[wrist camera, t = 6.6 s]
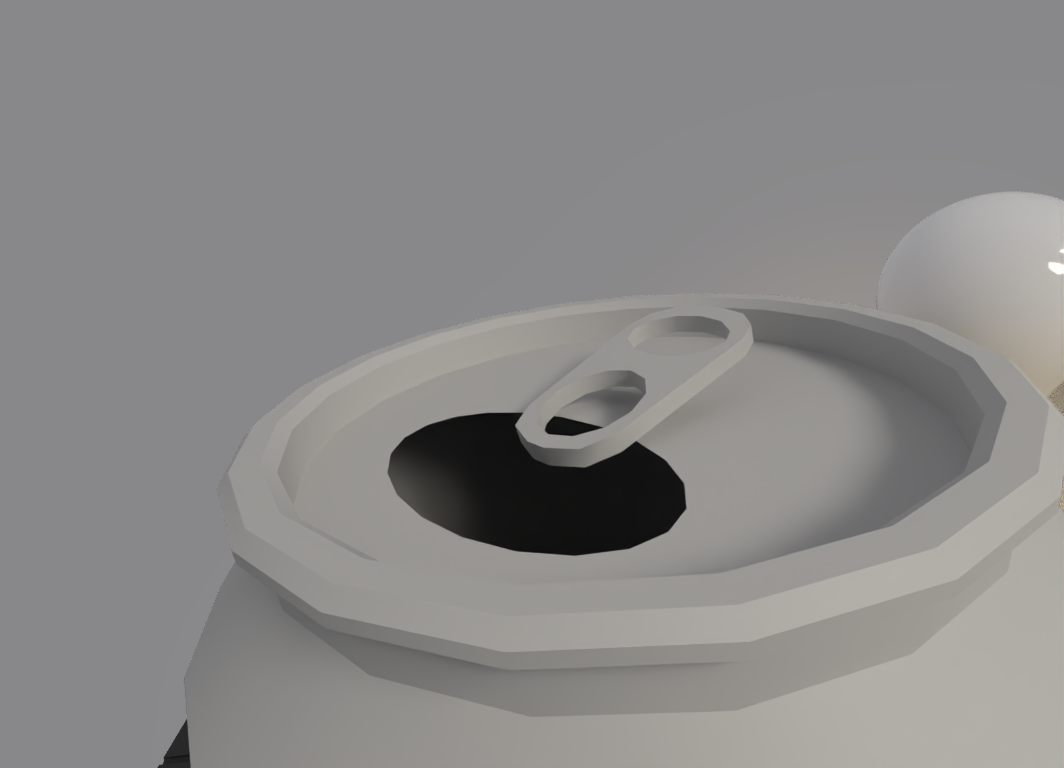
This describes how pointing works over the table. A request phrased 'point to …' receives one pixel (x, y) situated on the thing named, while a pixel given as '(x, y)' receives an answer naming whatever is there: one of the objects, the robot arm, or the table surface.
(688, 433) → the can
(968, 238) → the lightbulb
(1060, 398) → the table surface
